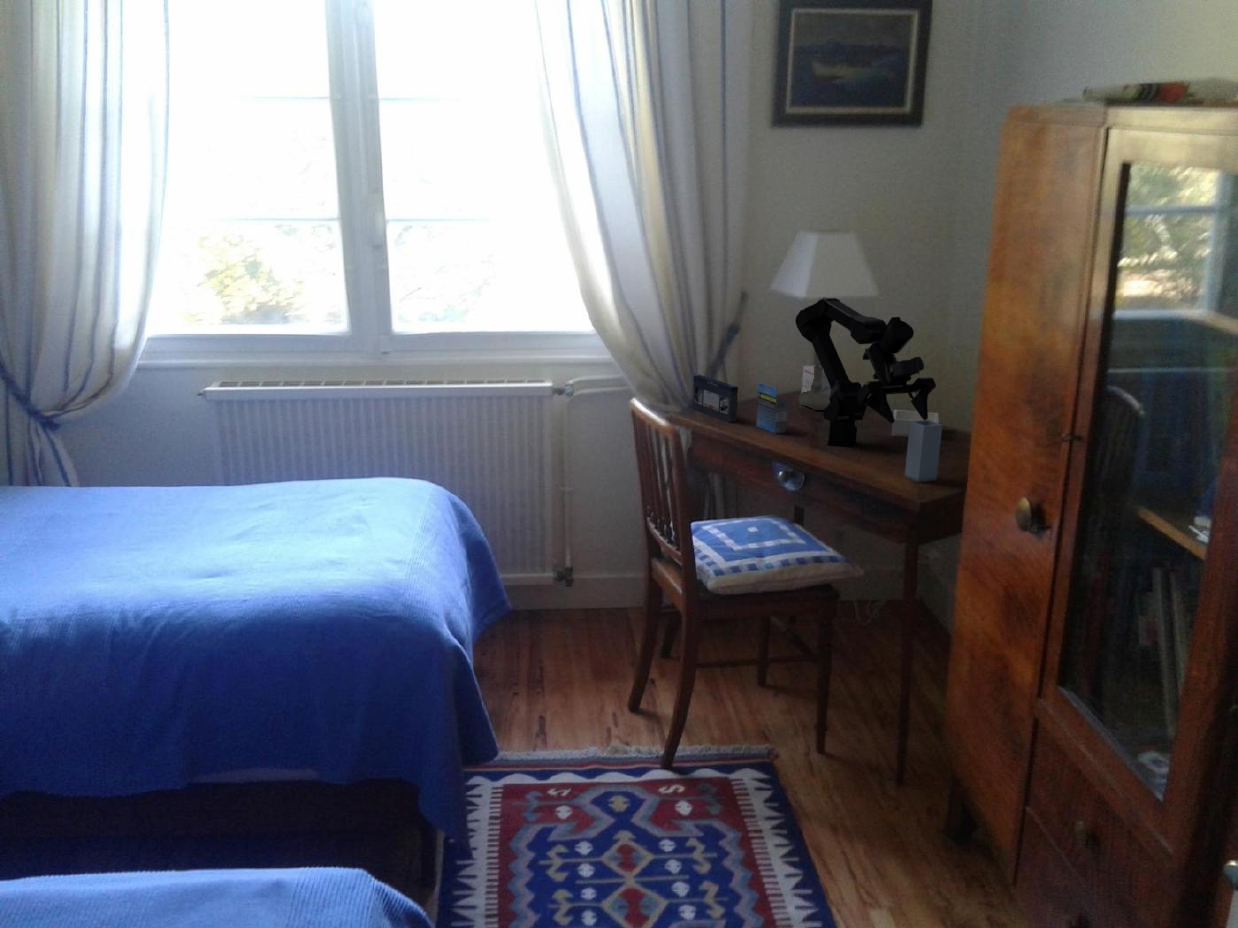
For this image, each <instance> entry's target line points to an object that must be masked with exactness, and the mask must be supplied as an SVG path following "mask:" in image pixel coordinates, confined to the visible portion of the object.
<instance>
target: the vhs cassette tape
mask: <svg viewBox="0 0 1238 928" xmlns="http://www.w3.org/2000/svg"><path fill="white" fill-rule="evenodd" d="M692 385H693V386H692V387H693V390H692V391H693V395H692V410H695V411H697V412H699V413H701V414H705V415H707V416H710V417H712V418H715V419H718V420H720V421H723V422H725V423H728V424H731V423H737V418H738V417H737V415H738V414H737V413H738V398H739V396H738V394H739V387H738V386H736V385H733V384H730V383H728V382H724V381H721V380H718V379H715V378H711V377H707V376H704V375H702V374H696V375H693V384H692Z"/></svg>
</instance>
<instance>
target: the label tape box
mask: <svg viewBox="0 0 1238 928" xmlns="http://www.w3.org/2000/svg"><path fill="white" fill-rule="evenodd" d="M766 390H767V391H766ZM777 393H778V388H777V387H774V386H771V385H769V384H766V383H763V382H761V381H759V382H758V387H757V401H756V402H757V406H756V427H757V428H760V429H763V430H765V431H768V432H770V433H773V434H775V435H776V434H783V433H786V432H787V416H788V413H787V412H788V408H787V407H788V401H786V400H783V399H781V398H778V397H777V396H778V395H777Z"/></svg>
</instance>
